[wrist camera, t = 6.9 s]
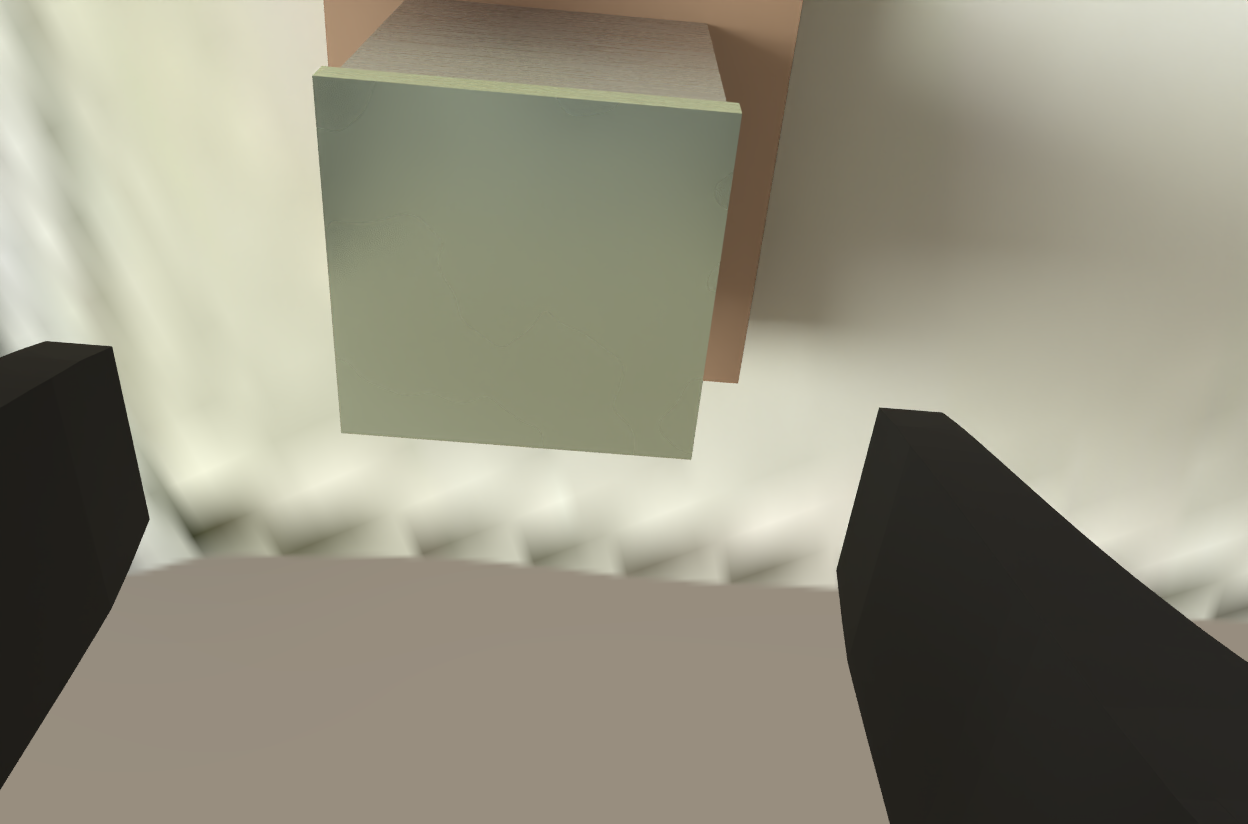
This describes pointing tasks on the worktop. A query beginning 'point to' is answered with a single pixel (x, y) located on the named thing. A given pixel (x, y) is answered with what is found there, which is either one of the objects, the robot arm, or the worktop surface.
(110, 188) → the worktop surface
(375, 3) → the walnut block
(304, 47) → the worktop surface
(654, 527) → the worktop surface
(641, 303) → the tea tin
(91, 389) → the robot arm
